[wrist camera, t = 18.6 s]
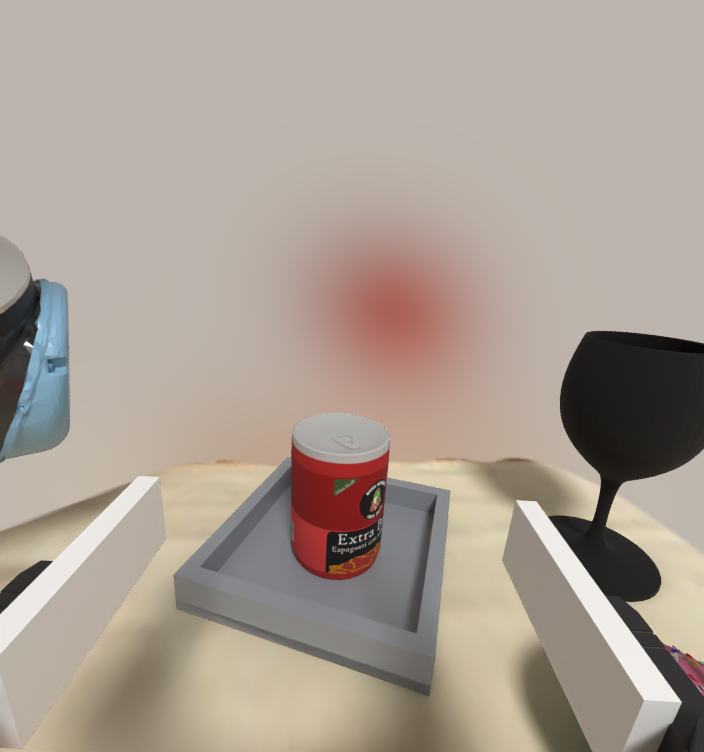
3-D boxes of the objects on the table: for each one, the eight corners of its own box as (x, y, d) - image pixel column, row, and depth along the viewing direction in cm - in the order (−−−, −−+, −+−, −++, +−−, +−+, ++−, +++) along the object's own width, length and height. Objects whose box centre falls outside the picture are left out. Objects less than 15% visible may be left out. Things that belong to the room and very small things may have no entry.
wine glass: (605, 619, 29) (686, 360, 23) (505, 530, 38) (545, 329, 32) (689, 583, 32) (776, 354, 27) (579, 510, 42) (627, 328, 36)
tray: (176, 608, 28) (173, 574, 27) (287, 480, 44) (287, 457, 43) (429, 695, 23) (434, 658, 22) (446, 515, 39) (450, 490, 39)
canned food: (336, 601, 28) (343, 467, 25) (271, 544, 33) (270, 427, 30) (398, 549, 33) (411, 434, 30) (335, 507, 38) (339, 405, 35)
